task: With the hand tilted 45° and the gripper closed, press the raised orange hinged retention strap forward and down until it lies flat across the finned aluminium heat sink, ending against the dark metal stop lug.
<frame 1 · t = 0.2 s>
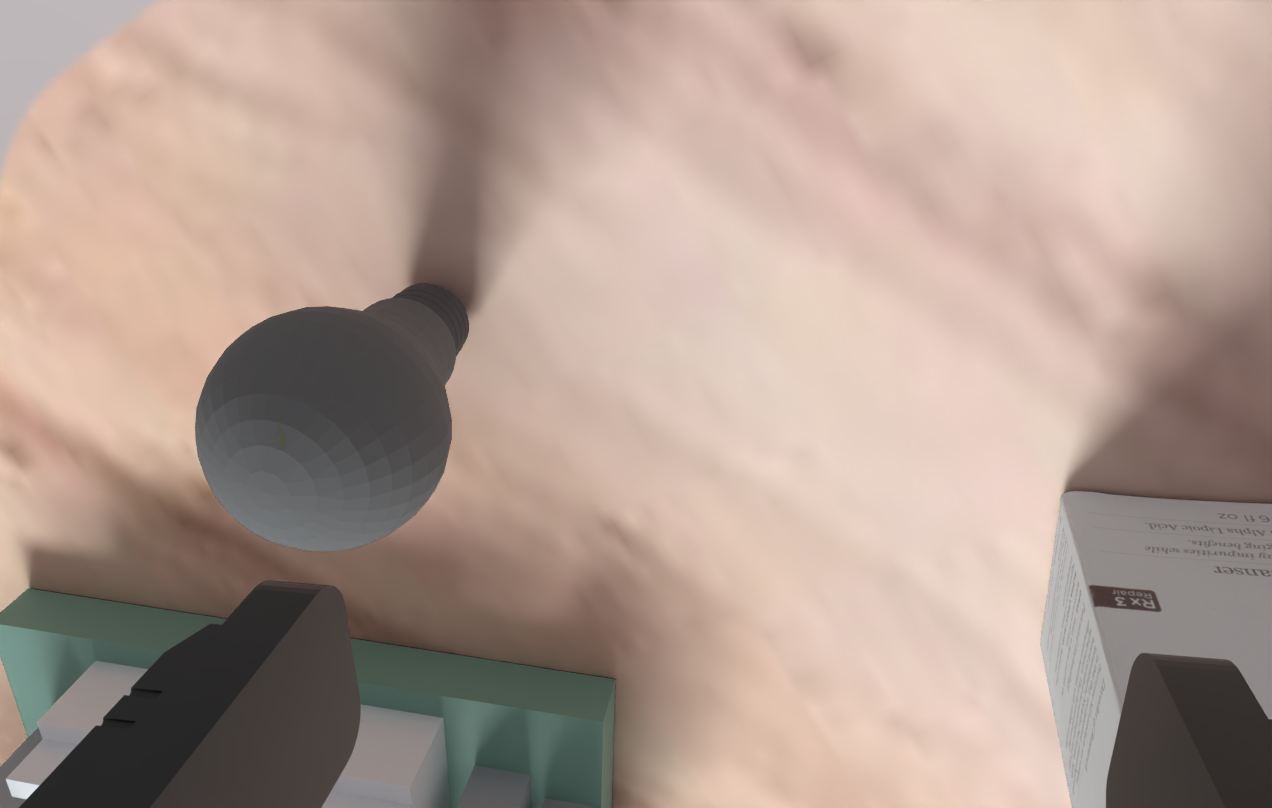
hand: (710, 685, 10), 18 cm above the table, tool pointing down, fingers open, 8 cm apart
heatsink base: (330, 771, 39), on the table
light bulb: (442, 308, 29), on the table
skincare box: (1183, 576, 29), on the table
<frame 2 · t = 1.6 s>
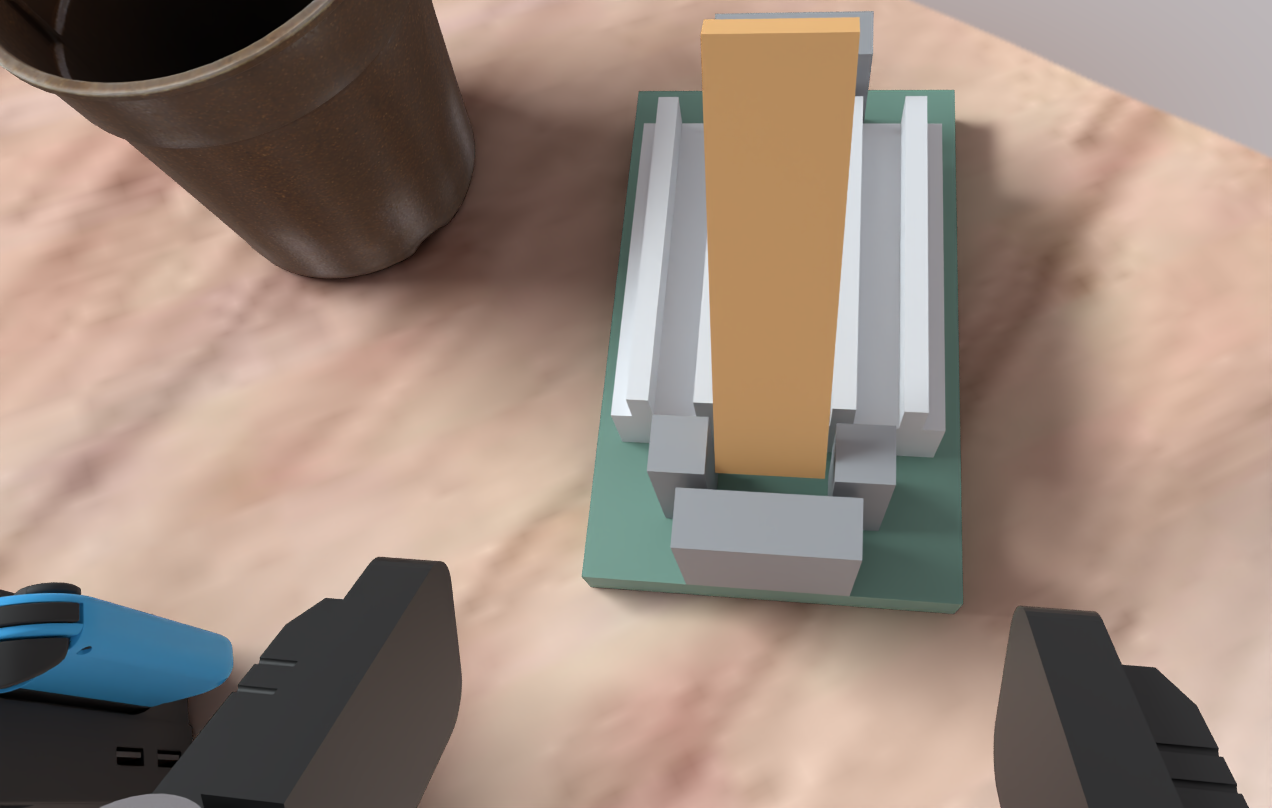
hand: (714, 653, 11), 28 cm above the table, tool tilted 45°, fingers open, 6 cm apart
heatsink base: (780, 337, 43), on the table
plant pot: (357, 172, 49), on the table
retention strap: (774, 286, 28), point 14 cm above the table, hinge at 65.0°
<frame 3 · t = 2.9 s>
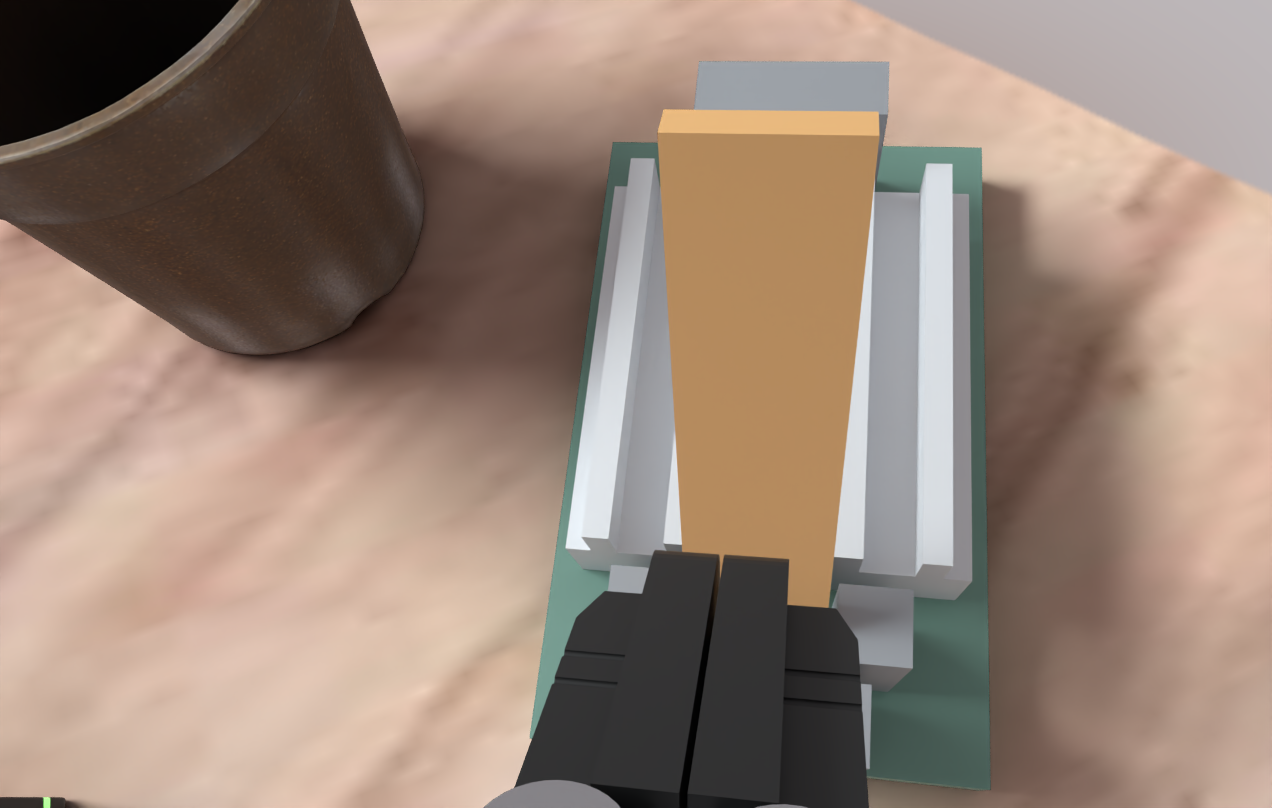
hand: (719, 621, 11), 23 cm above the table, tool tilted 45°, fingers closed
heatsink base: (774, 437, 36), on the table
plant pot: (290, 227, 43), on the table
retention strap: (760, 438, 22), point 14 cm above the table, hinge at 65.0°
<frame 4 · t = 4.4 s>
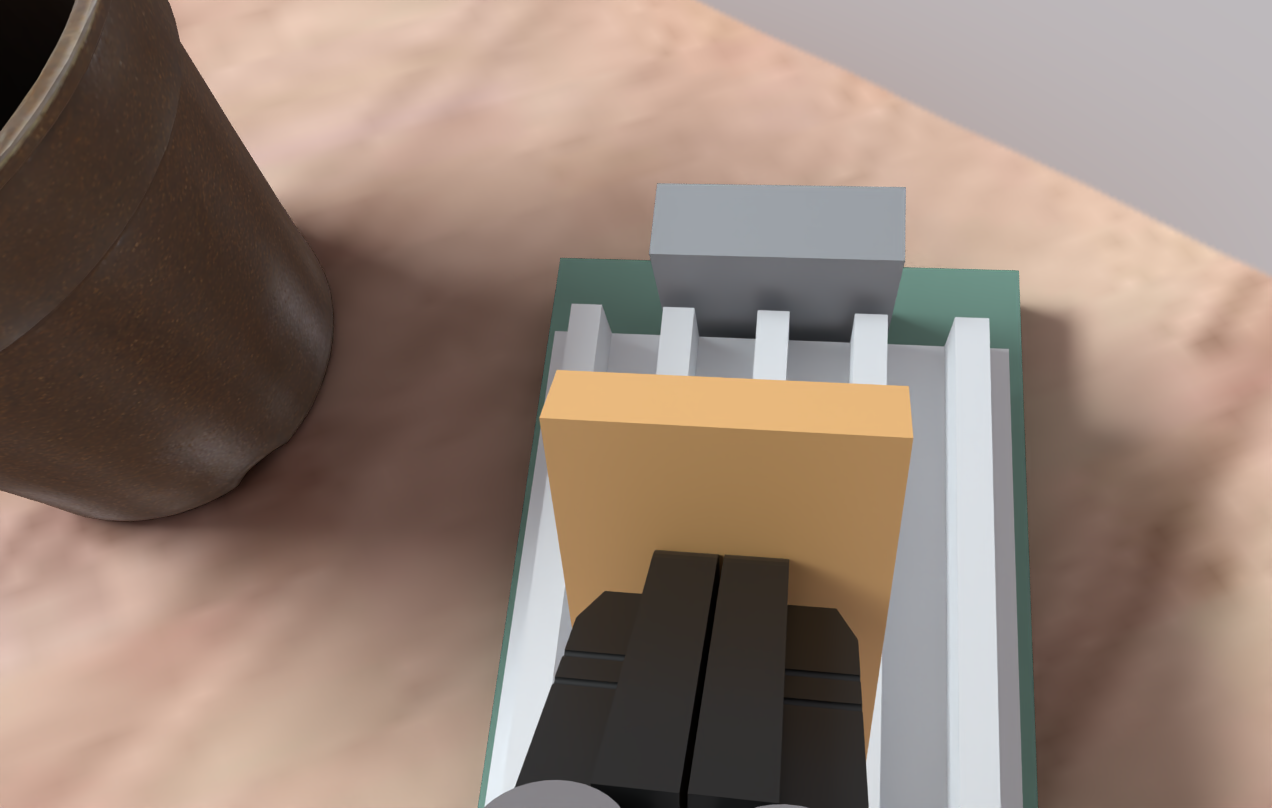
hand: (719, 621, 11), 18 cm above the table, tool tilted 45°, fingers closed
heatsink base: (760, 643, 29), on the table
plant pot: (174, 353, 35), on the table
retention strap: (727, 805, 15), point 14 cm above the table, hinge at 60.1°, touching gripper
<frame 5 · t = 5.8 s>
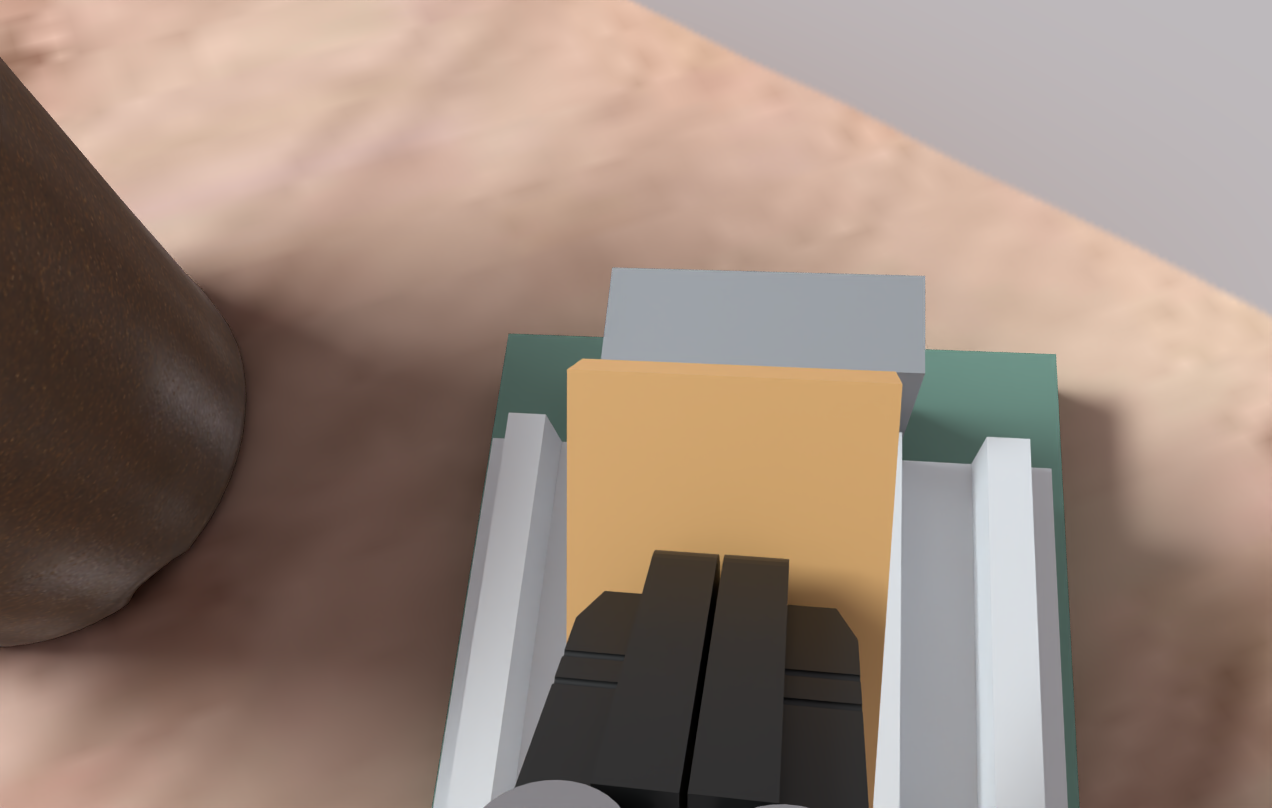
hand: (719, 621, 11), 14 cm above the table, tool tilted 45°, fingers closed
plant pot: (62, 438, 30), on the table
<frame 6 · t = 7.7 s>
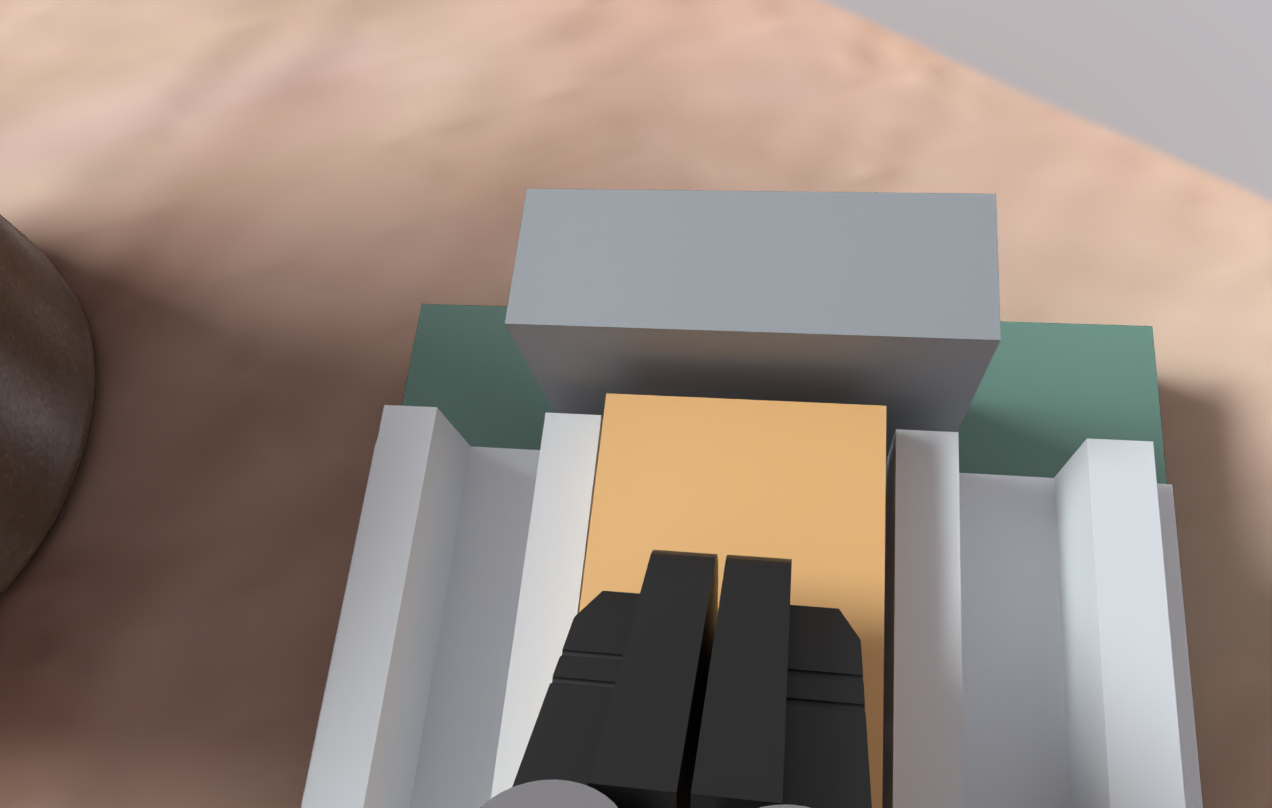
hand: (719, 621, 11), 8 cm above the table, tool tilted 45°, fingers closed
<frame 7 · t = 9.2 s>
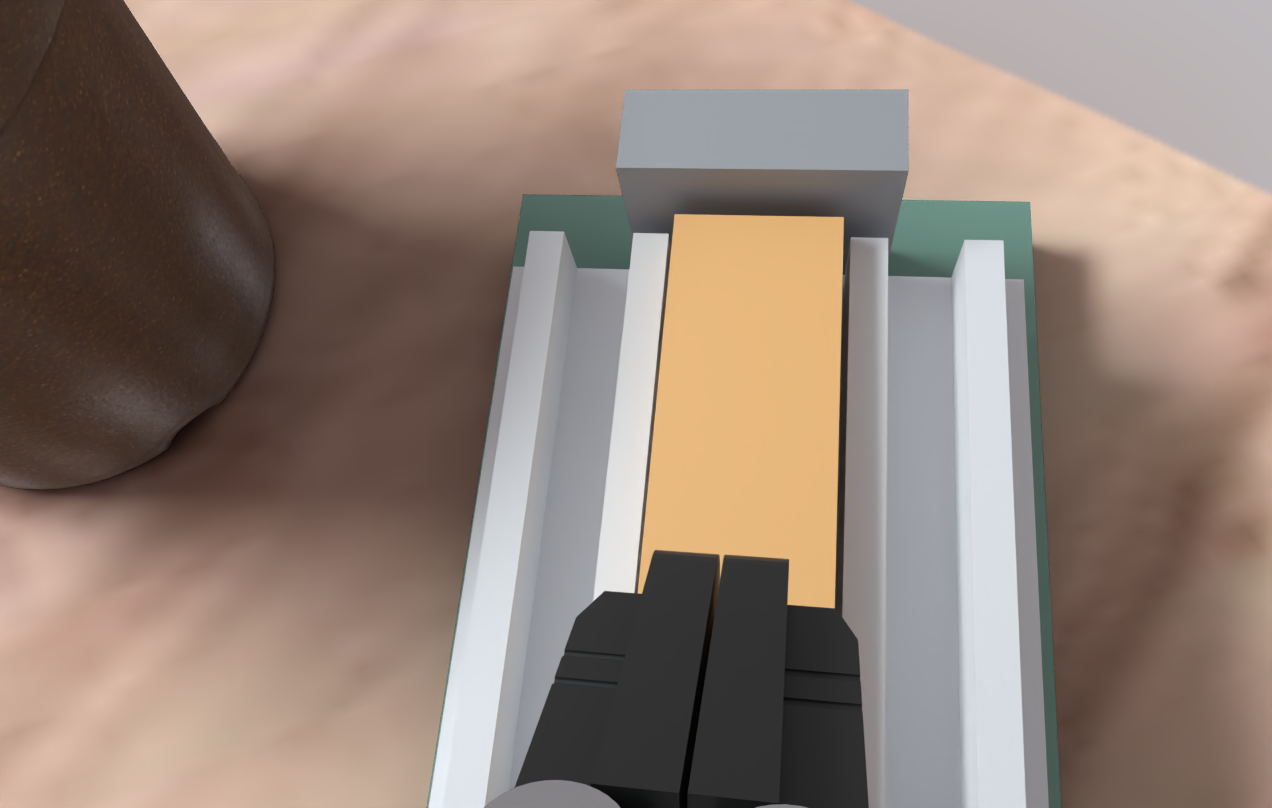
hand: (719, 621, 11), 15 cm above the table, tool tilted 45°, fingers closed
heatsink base: (746, 616, 26), on the table
plant pot: (100, 307, 32), on the table
retention strap: (737, 564, 19), point 7 cm above the table, hinge at -1.2°, touching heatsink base
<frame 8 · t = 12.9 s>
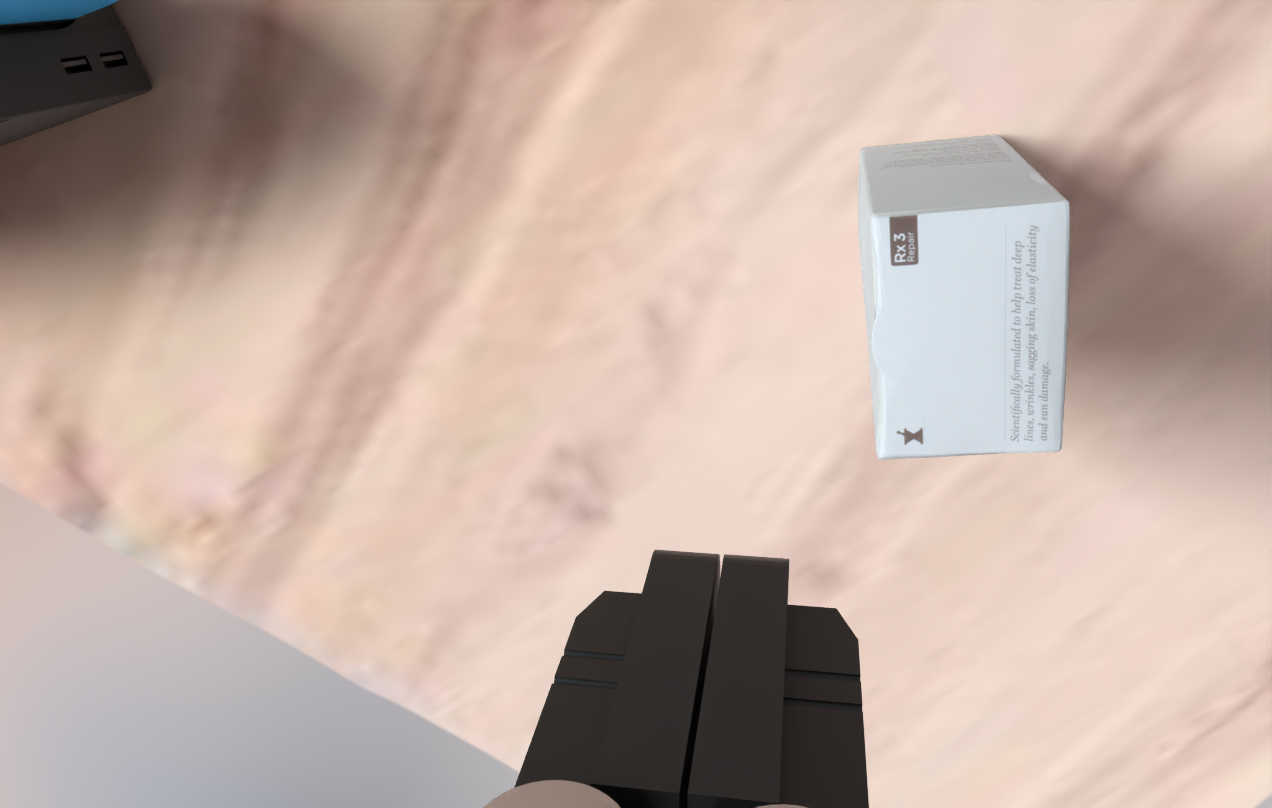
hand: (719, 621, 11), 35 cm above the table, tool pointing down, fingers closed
skincare box: (924, 226, 44), on the table
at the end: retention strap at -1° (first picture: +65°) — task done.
